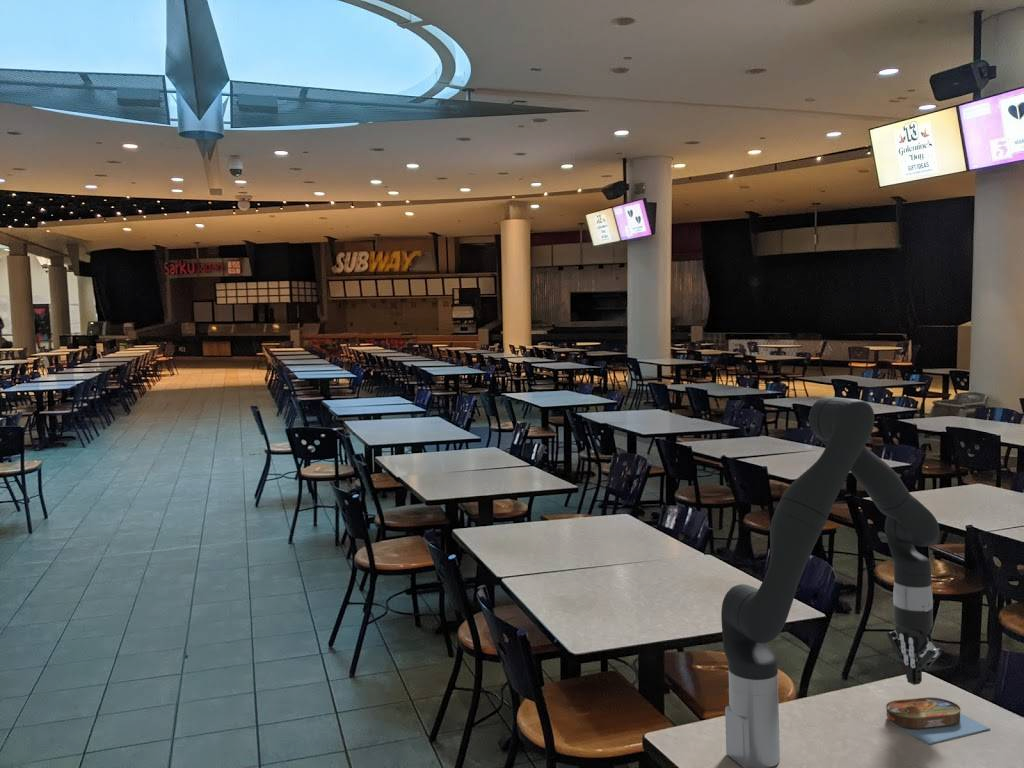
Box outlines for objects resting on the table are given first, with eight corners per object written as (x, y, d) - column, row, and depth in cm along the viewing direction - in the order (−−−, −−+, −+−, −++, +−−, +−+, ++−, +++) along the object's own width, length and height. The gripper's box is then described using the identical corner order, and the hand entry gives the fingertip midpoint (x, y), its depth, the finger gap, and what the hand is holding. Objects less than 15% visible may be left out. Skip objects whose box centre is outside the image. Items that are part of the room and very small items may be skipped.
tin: (943, 695, 171) (969, 710, 163) (944, 710, 171) (970, 725, 163) (877, 701, 170) (900, 716, 162) (878, 716, 170) (901, 731, 162)
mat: (929, 744, 157) (929, 743, 157) (890, 722, 166) (890, 721, 166) (990, 729, 162) (990, 728, 162) (949, 709, 171) (949, 707, 171)
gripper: (875, 597, 174) (876, 674, 175) (924, 615, 162) (925, 698, 163) (902, 592, 177) (903, 668, 177) (952, 610, 164) (953, 692, 165)
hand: (914, 683), depth 170 cm, fingers closed
